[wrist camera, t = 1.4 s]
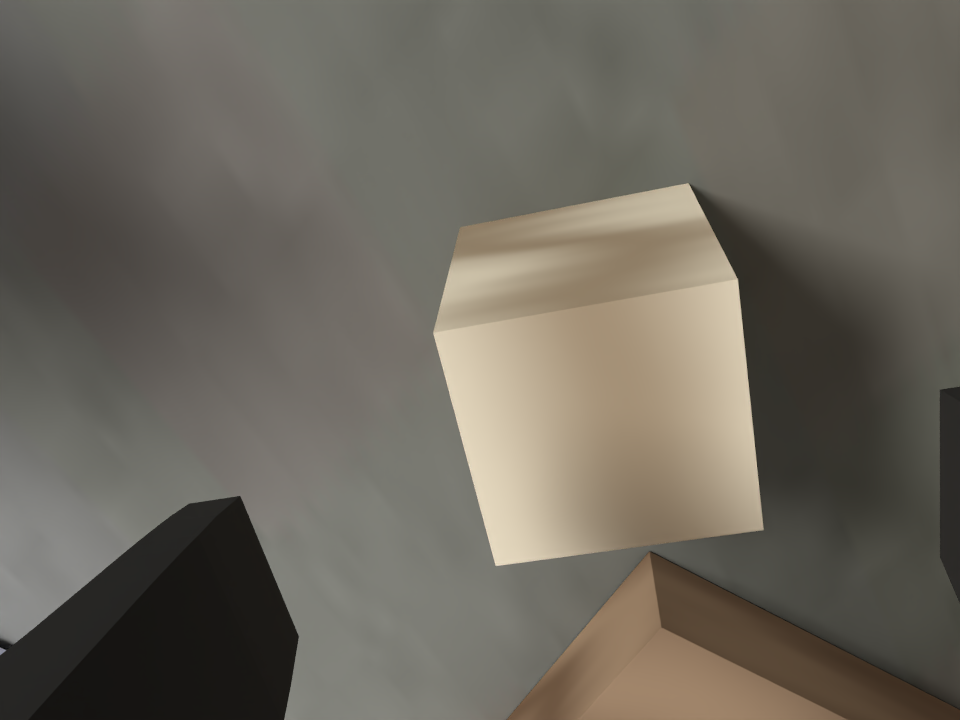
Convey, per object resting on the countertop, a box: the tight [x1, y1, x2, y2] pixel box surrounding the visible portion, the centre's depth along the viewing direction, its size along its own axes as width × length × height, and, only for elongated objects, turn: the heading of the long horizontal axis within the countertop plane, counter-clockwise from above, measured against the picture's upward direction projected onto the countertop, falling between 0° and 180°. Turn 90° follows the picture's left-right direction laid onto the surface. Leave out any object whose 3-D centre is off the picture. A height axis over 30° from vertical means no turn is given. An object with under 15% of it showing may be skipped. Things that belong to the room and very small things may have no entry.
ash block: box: [433, 183, 764, 566], centre depth 16 cm, size 4×4×5 cm
